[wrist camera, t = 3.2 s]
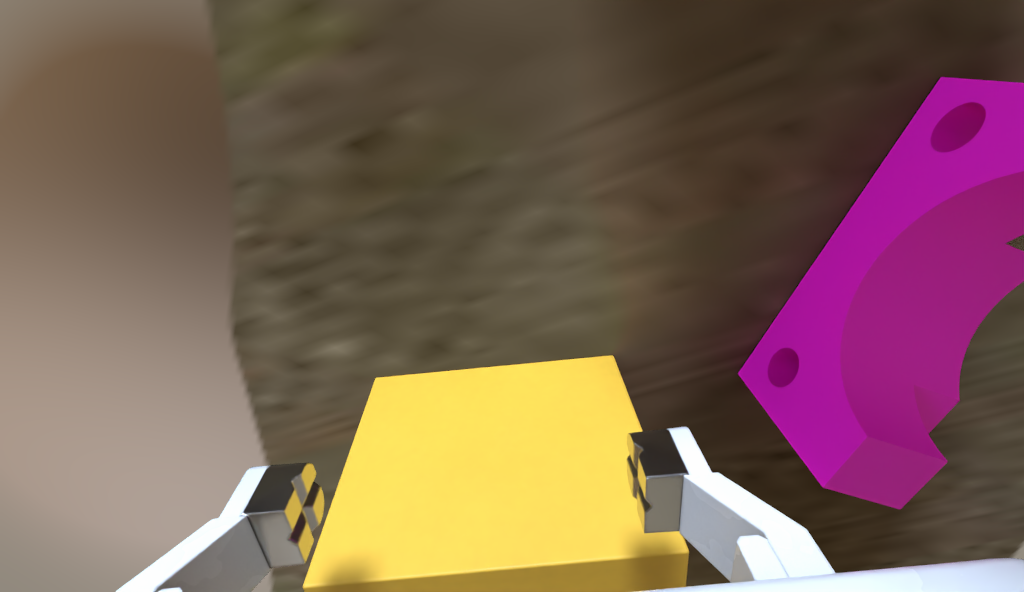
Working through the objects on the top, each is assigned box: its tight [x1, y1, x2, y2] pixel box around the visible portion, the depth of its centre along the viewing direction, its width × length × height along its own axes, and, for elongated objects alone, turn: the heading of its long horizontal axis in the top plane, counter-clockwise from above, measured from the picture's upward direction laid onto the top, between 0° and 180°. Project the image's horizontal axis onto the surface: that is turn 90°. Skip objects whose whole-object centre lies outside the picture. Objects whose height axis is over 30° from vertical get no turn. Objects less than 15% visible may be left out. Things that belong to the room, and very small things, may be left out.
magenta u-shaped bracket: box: [738, 77, 1024, 509], centre depth 20 cm, size 15×6×8 cm, turn 159°
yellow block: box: [303, 355, 689, 592], centre depth 22 cm, size 5×12×11 cm, turn 95°
